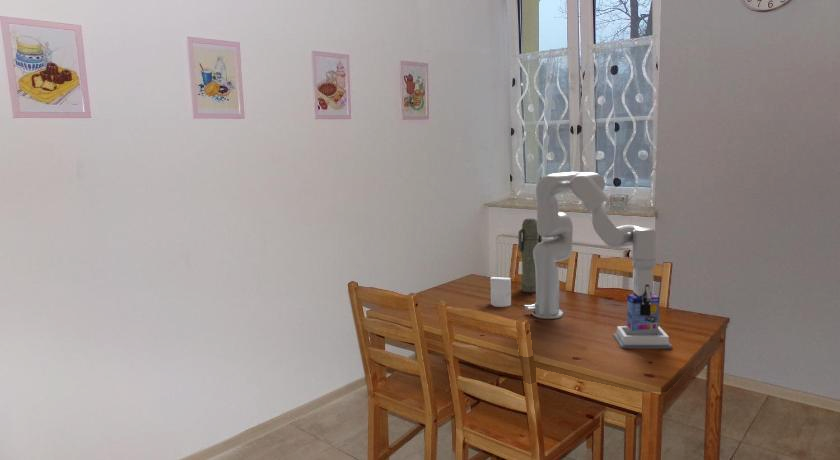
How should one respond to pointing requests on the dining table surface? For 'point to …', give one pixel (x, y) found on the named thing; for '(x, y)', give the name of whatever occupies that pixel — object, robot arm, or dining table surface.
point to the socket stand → (642, 338)
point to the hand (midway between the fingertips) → (642, 311)
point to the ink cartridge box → (642, 321)
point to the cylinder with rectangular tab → (500, 291)
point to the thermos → (528, 253)
